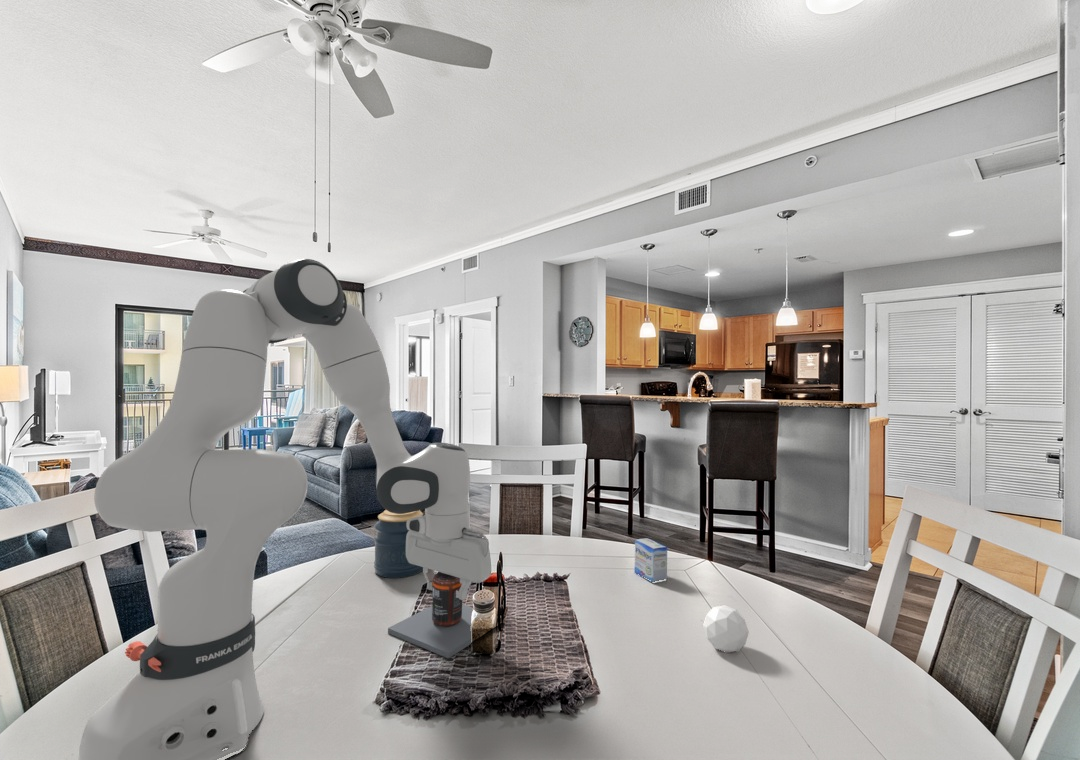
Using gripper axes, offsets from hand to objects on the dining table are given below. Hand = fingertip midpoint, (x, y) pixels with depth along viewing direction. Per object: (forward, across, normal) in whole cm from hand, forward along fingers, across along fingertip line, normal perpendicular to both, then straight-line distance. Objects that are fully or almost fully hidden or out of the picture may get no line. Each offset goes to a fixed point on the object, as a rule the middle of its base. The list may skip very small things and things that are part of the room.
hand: (446, 593), depth 100 cm
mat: (+7, 0, 0) cm, 7 cm away
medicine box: (+7, -24, -48) cm, 54 cm away
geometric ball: (+7, -48, -23) cm, 54 cm away
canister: (+7, +32, -16) cm, 36 cm away
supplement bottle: (+6, 0, 0) cm, 6 cm away
